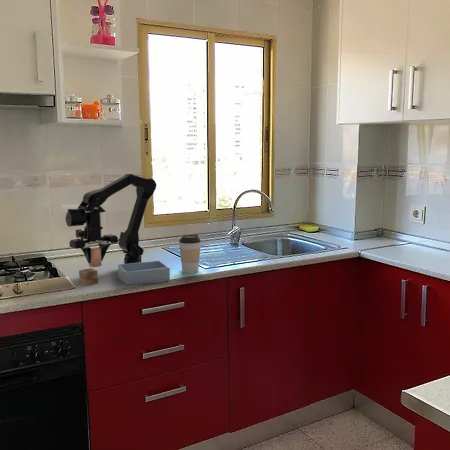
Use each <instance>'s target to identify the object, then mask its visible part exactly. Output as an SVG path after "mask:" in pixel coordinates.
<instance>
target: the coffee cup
mask: <svg viewBox="0 0 450 450" xmlns="http://www.w3.org/2000/svg"><path fill="white" fill-rule="evenodd" d="M178 242H179V254H180V255H179V257H180V261H181V262H180V263H181V271H182V272H183V273H187V274H189V273H190V274H194V273H198V272H199V267H200V257H201V256H200V255H201V243H202V241H201V238H200V237H199V235H198V234H186V235H182V236H181V237H180V238H179V241H178Z"/></svg>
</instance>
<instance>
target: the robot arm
mask: <svg viewBox="0 0 450 450" xmlns="http://www.w3.org/2000/svg"><path fill="white" fill-rule="evenodd" d="M130 185H132V186H133V187H136V188H135V193H136V199H135V202H134V206H133V209H132V213H131V215H130V220H129V222H128V225H127V229H125V231H121V232H120V234H119V237H118V236H117V235H115V234H104V235H103V236H102V230H103V229H104V228H103V226H102V220H101V213H105V212H106V210H105V209H104V208H103V207H102V206H101V205H103V204H104V203H105V202H106V201H107V200H108V199H109V197H111V196H113V195H115V194H116V193H118V192H120V191H122V190H123V189H125V188H127V187H128V186H130ZM156 189H157V182H156V181H155V179H153V178H149V177H142V176H138V175H135V174H134V173H126V174H124V175H123V176H121V177H119V178H117V179H116V180H114V181H112V182H111V183H108V184H107V185H105V186H103V187H102V188H99V189H94V190H90V191H88V192H86V193H84V194H83V197H82V201H81V202H80V204H79V205H78V206H77V208H68V209H67V212H66V215H65V222H66V225H67V226H68V227H69V228H71V227H79V226H84V225H85V226H84V228H83V229H84V230H82V229H80V228H79V229H75V237H76V238H74V239H70V241H69V247H70V248H73V249H75V250H76V249H80V250H81V251H82V253H83V254H84V256H85V259H86V261H87V264H89V263H90V261H91V248H92V247H90V246H89V245H93V244H98V247H99V248H101V260H102V261H104V258H105V257H106V253H107V251H108V250H109V248H110V246H112V244H116V243H117V244H118V246H119V249H121V250H122V253H123V254H124V258H123V264H129V263H139V262H142V256H143V255H144V251H145V250H144V249H143V248H142V246H140V244H139V243H140V237H139V235H140V234H139V231H140V228H141V225H142V221H143V218H144V215H145V212H146V208H147V204H148V202H149V199H150V198H151V197H152V196H153V195H154V193H155V190H156Z"/></svg>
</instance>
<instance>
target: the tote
mask: <svg viewBox="0 0 450 450" xmlns="http://www.w3.org/2000/svg"><path fill="white" fill-rule="evenodd" d="M117 271H118V272H117V274H118V278H119V280H121V281H122V282H123V284H124V285H126V286H130V285H131V286H132V285H138V284H141V285H142V284H147V283H157V282H166V281H171V267H170V266H168V265H167V264H166V263H164V262H163V261H161V260H152V261H150V260H149V261H141V262H139V263H129V264H124V263H121V264H120V263H119V264H117Z"/></svg>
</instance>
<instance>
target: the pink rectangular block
mask: <svg viewBox="0 0 450 450" xmlns="http://www.w3.org/2000/svg"><path fill="white" fill-rule="evenodd" d="M90 248H91V261H90V263H88V267H89V268H98V267H101V266H103V265H102V262H103V260H101V248H99V246H97V247H90Z"/></svg>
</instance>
